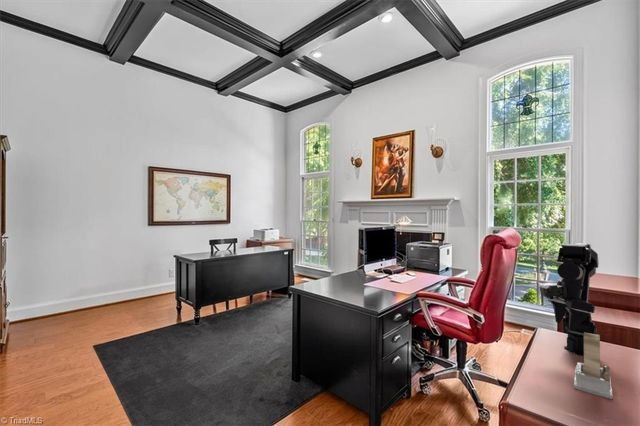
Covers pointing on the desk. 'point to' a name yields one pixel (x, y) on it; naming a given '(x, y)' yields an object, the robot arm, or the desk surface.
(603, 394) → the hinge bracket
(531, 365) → the desk surface
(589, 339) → the tan wooden block
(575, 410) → the desk surface
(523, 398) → the desk surface
